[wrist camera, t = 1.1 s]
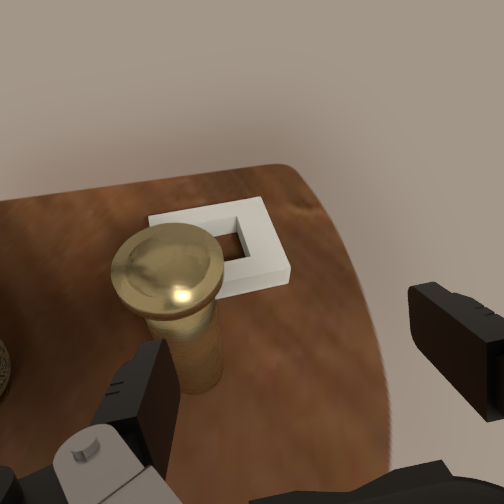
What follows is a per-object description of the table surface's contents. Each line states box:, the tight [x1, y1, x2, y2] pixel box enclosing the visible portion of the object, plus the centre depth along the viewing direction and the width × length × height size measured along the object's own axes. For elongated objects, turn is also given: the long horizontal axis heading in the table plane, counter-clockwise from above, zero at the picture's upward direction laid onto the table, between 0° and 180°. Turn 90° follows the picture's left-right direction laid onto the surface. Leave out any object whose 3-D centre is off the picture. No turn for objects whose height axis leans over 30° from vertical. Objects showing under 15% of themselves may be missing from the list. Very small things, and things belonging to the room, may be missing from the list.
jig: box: [148, 197, 291, 300], centre depth 36 cm, size 12×10×2 cm
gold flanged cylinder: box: [111, 223, 225, 395], centre depth 24 cm, size 6×6×14 cm
